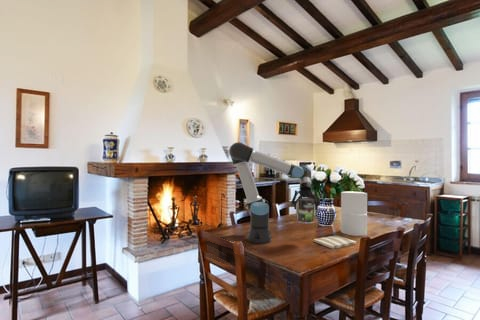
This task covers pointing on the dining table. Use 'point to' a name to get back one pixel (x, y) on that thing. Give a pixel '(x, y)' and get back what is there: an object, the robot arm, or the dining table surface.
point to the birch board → (334, 241)
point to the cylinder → (354, 213)
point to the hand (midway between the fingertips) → (305, 213)
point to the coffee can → (305, 210)
